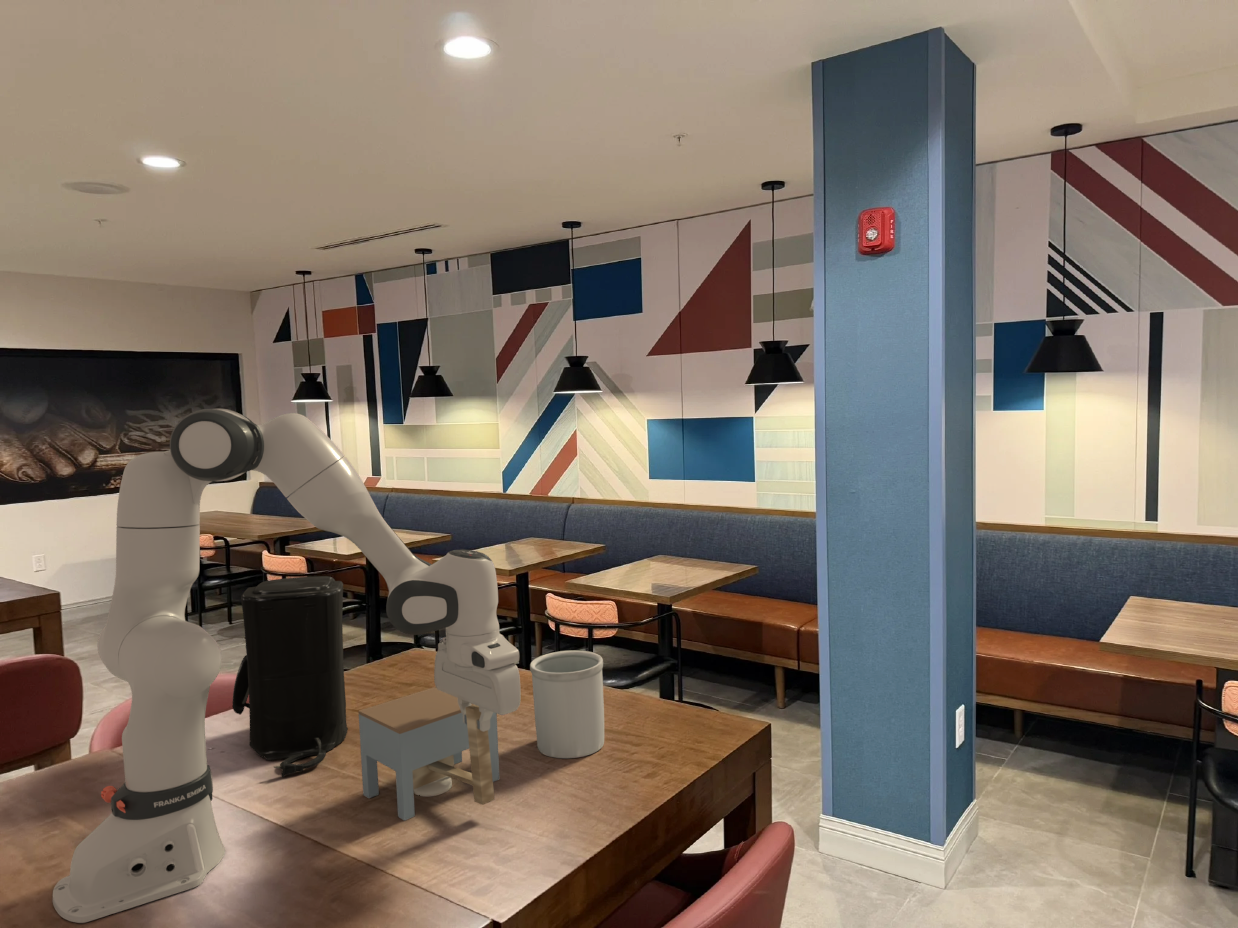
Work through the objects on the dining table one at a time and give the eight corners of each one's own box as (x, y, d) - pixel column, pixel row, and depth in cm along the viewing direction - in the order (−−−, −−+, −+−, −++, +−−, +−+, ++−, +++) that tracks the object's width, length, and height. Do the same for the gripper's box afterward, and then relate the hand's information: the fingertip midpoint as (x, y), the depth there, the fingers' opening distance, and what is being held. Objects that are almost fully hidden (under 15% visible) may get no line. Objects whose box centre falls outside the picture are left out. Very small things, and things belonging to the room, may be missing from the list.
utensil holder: (523, 757, 161) (519, 670, 159) (547, 728, 175) (544, 648, 174) (595, 763, 157) (591, 674, 156) (613, 732, 172) (610, 651, 170)
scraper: (466, 812, 133) (457, 715, 133) (410, 788, 146) (401, 700, 146) (510, 792, 140) (501, 700, 140) (452, 771, 152) (444, 686, 152)
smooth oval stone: (427, 801, 144) (426, 795, 144) (405, 790, 149) (405, 783, 149) (459, 787, 149) (459, 781, 149) (437, 776, 154) (437, 770, 154)
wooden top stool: (404, 820, 137) (399, 730, 136) (363, 794, 147) (358, 710, 146) (499, 779, 152) (495, 697, 150) (456, 758, 161) (452, 681, 160)
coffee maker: (332, 706, 192) (324, 566, 190) (389, 748, 167) (381, 586, 165) (229, 733, 178) (219, 581, 176) (275, 783, 153) (263, 606, 151)
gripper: (423, 639, 142) (426, 716, 142) (494, 662, 127) (497, 748, 128) (454, 631, 146) (457, 706, 147) (525, 653, 132) (528, 736, 133)
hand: (476, 726), depth 137 cm, fingers closed on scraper, 3 cm apart
